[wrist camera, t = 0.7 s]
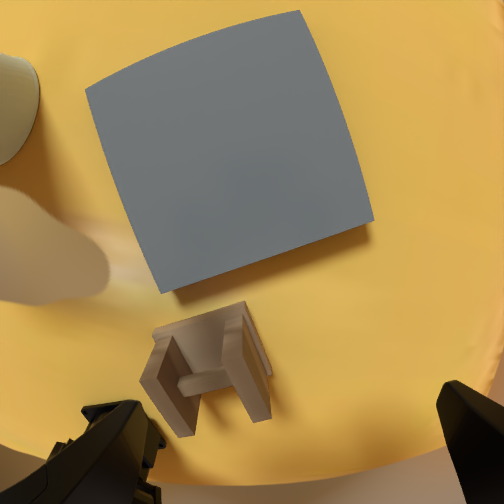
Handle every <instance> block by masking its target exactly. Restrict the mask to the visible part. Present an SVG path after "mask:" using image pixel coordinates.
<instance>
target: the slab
mask: <svg viewBox="0 0 504 504" xmlns="http://www.w3.org/2000/svg"><path fill="white" fill-rule="evenodd" d="M85 92H86V95H87V99H88V102H89V106H90V109H91V113H92V116H93V119H94V123H95V126H96V129H97V132H98V135H99V138H100V141H101V145H102V148H103V151H104V154H105V156H106V159H107V162H108V165H109V168H110V171H111V174H112V176H113V179H114V182H115V185H116V187H117V190H118V193H119V195H120V198H121V201H122V203H123V206H124V209H125V211H126V214H127V216H128V219H129V221H130V224H131V226H132V229H133V231H134V233H135V236H136V238H137V241H138V243H139V245H140V248H141V250H142V253H143V255H144V257H145V259H146V262H147V264H148V266H149V269H150V271H151V273H152V275H153V277H154V280H155V282H156V284H157V286H158V288H159V291H160V293H161V294H163V293H166V292H169V291H172V290H175V289H178V288H181V287H184V286H187V285H190V284H192V283H195V282H198V281H201V280H204V279H207V278H210V277H213V276H216V275H219V274H222V273H225V272H228V271H231V270H234V269H237V268H240V267H242V266H245V265H248V264H251V263H254V262H257V261H260V260H263V259H266V258H269V257H272V256H274V255H277V254H280V253H283V252H286V251H289V250H292V249H295V248H298V247H300V246H303V245H306V244H309V243H312V242H315V241H318V240H321V239H323V238H326V237H329V236H332V235H335V234H338V233H341V232H343V231H346V230H349V229H352V228H355V227H358V226H360V225H363V224H366V223H369V222H372V221H374V217H373V213H372V209H371V205H370V201H369V197H368V193H367V190H366V186H365V182H364V179H363V175H362V172H361V168H360V165H359V162H358V158H357V155H356V152H355V149H354V146H353V142H352V139H351V136H350V133H349V130H348V127H347V124H346V121H345V118H344V116H343V113H342V110H341V107H340V104H339V102H338V99H337V96H336V94H335V91H334V88H333V86H332V83H331V80H330V78H329V75H328V73H327V70H326V68H325V66H324V63H323V61H322V58H321V56H320V54H319V51H318V49H317V47H316V44H315V42H314V40H313V38H312V35H311V33H310V31H309V29H308V27H307V24H306V22H305V20H304V18H303V16H302V14H301V12H300V10H297V11H291V12H287V13H282V14H277V15H273V16H268V17H264V18H260V19H256V20H252V21H249V22H245V23H241V24H238V25H234V26H231V27H228V28H224V29H221V30H218V31H215V32H212V33H209V34H206V35H203V36H200V37H197V38H195V39H192V40H189V41H186V42H184V43H181V44H179V45H176V46H173V47H171V48H168V49H166V50H164V51H161V52H159V53H157V54H154V55H152V56H150V57H147V58H145V59H143V60H141V61H139V62H136V63H134V64H132V65H130V66H128V67H126V68H124V69H122V70H120V71H118V72H116V73H114V74H112V75H110V76H108V77H106V78H105V79H103V80H101V81H99V82H97V83H95V84H94V85H92V86H90V87H88V88H86V89H85Z"/></svg>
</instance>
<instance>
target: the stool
mask: <svg viewBox="0 0 504 504" xmlns="http://www.w3.org/2000/svg"><path fill="white" fill-rule="evenodd" d="M152 337H153V339H154V341H155V343H156V344H155V346H154V349H153V351H152V353H151V355H150V358H149V360H148V362H147V364H146V367H145V369H144V371H143V374H142V376H141V378H140V381H139V382H140V383H141V385H142V387H143V388H144V390H145V391H146V393H147V394H148V396H149V397H150V399H151V400H152V402H153V403H154V405H155V406H156V407H157V409H158V410H159V412H160V413H161V415H162V416H163V417H164V419H165V420H166V422H167V423H168V424H169V426H170V427H171V429H172V430H173V431H174V433H175V434H176V435H177V437H178V438H182V437H188V436H194V435H195V431H196V424H197V417H198V411H199V405H200V398H201V393H205V392H210V391H214V390H218V389H222V388H226V387H230V386H234V388H235V390H236V392H237V394H238V395H239V397H240V399H241V401H242V403H243V405H244V407H245V409H246V411H247V412H248V414H249V416H250V418H251V420H252V422H253V423H256V422H260V421H264V420H268V419H272V415H271V406H270V397H269V388H268V379H267V376H269V375H272V370H271V365H270V362H269V360H268V358H267V355H266V353H265V350H264V348H263V345H262V343H261V340H260V338H259V336H258V333H257V331H256V328H255V326H254V323H253V321H252V318H251V316H250V313H249V311H248V308H247V306H246V303H245V301H242V302H238V303H235V304H232V305H229V306H226V307H223V308H220V309H217V310H214V311H210V312H207V313H204V314H201V315H198V316H194V317H191V318H188V319H185V320H181V321H178V322H175V323H171V324H168V325H165V326H161V327H158V328H155V330H154V332H153V334H152Z"/></svg>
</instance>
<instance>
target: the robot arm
mask: <svg viewBox="0 0 504 504" xmlns="http://www.w3.org/2000/svg"><path fill="white" fill-rule="evenodd" d="M436 407H437V411H438V415H439V418H440V422H441V426H442V430H443V433H444V437H445V441H446V445H447V447H448V450H449V453H450V456H451V459H452V461H453V464H454V467H455V470H456V473H457V476H458V478H459V482H460V485H461V488H462V491H463V494H464V497H465V500H466V503H467V504H504V407H503V406H502V405H500V404H498V403H496V402H494V401H493V400H491V399H489V398H487V397H486V396H484V395H482V394H480V393H479V392H477V391H475V390H473V389H472V388H470V387H468V386H466V385H465V384H463V383H461V382H459V381H457V380H452V381H448V382H445V383H444V384H443V387H442V389H441V392H440V394H439V396H438V399H437V402H436ZM81 412H82V414H83V415H84V417H85V418H86V419H87V420H88V422H89V424H88V426H87V428H86V430H85V432H84V434H83V435H81V436H80V437H79V438H77V439H76V440H75V441H73V440H72V439H70V438H69V440H68V441H67V443H61V442H56V444H55V446H54V448H53V450H52V451H51V453H50V455H49V457H48V459H47V461H46V463H45V464H43V465H42V466H41V467H40V468H38V469H37V470H35V471H34V472H33V473H31V474H30V475H28V476H27V477H25V478H24V479H22V480H21V481H19V482H17V483H16V484H14V485H12V486H11V487H9V488H7V489H5V490H3V491H2V492H0V504H162V502H161V488H160V487H158V486H153V485H151V484H149V483H147V482H146V480H147V476H148V472H149V469H150V468H153V466H154V462H155V458H156V454H157V450H158V449H164V448H165V447H166V442H165V440H164V439H163V438H162V437H161V435H160V434H159V433H158V431H157V430H156V429H155V427H154V426H153V425H152V423H151V422H150V421H149V419H148V418H147V417H146V415H145V412H144V409H143V407H142V404H141V402H140V401H137V400H124V401H118V402H112V403H105V404H99V405H91V406H84V407H83V408H82V410H81Z"/></svg>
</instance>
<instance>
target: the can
mask: <svg viewBox="0 0 504 504" xmlns="http://www.w3.org/2000/svg"><path fill="white" fill-rule="evenodd" d="M38 103H39V83H38V78H37V74H36V72H35V70H34V68H33V67H32V65H31V64H30V63H29V62H28V61H27V60H25V59H23V58H20V57H12V56H9V55H6V54H3V53H0V165H2V164H4V163H6V162H7V161H9V160H10V159H11V158H12V157H14V155H15V154H16V153H17V152H18V151H19V150H20V149H21V147H22V146H23V144H24V143H25V141H26V139H27V137H28V136H29V133H30V131H31V129H32V127H33V124H34V121H35V117H36V114H37V109H38Z"/></svg>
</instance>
